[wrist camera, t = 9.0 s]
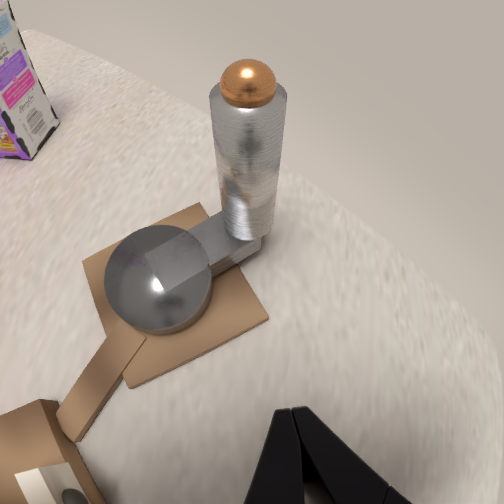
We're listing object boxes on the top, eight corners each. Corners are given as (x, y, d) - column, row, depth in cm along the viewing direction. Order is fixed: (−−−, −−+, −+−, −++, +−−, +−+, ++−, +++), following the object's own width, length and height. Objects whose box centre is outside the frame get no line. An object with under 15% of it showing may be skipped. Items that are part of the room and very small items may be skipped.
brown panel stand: (378, 491, 13) (417, 512, 9) (77, 592, 8) (45, 617, 4) (200, 207, 22) (190, 157, 17) (-35, 336, 16) (-76, 316, 12)
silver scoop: (141, 354, 16) (2, 268, 6) (100, 269, 18) (-5, 139, 8) (296, 258, 19) (342, 93, 8) (240, 190, 21) (236, 28, 11)
